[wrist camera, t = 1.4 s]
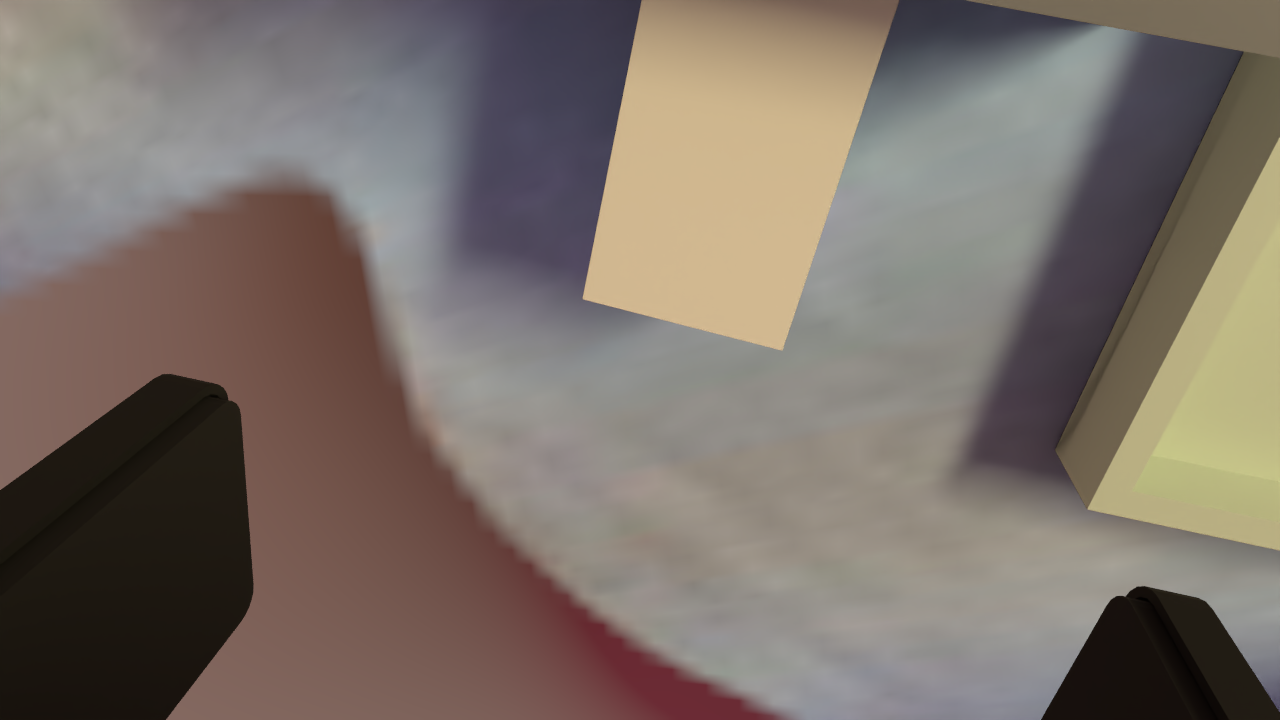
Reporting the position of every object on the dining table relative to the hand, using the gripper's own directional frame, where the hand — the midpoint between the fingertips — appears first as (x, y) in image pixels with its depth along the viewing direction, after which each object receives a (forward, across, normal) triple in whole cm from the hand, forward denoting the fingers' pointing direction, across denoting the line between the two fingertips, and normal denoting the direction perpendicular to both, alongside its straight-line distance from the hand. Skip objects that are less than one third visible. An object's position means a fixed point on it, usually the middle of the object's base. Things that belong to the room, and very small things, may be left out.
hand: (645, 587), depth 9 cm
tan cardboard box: (+20, 0, -4) cm, 21 cm away
